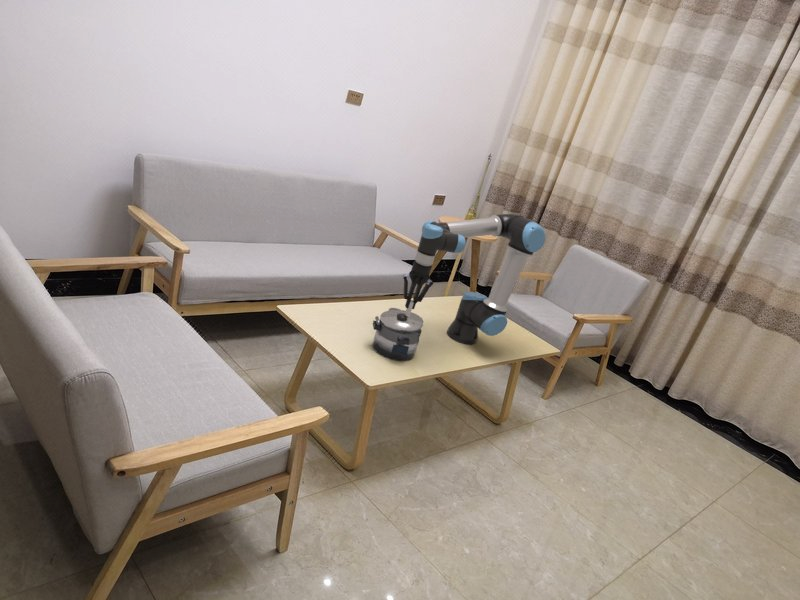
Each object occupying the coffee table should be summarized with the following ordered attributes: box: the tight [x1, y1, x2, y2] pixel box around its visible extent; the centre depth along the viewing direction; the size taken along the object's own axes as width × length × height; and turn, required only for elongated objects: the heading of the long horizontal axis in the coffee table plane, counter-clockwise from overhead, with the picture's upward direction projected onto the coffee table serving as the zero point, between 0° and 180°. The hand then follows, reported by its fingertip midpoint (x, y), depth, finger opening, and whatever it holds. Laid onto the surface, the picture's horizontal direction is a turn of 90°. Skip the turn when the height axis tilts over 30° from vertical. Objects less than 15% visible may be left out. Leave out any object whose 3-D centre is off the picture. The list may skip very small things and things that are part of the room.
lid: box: [375, 309, 424, 332], centre depth 225 cm, size 20×18×4 cm
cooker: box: [372, 320, 422, 362], centre depth 228 cm, size 20×23×12 cm
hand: (407, 315), depth 225 cm, fingers closed
